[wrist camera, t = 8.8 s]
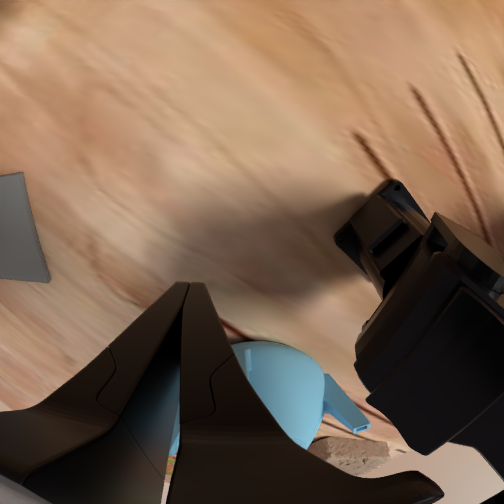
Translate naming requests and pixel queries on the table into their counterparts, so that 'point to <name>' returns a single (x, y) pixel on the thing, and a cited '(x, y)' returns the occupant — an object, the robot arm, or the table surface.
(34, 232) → the rubber mat
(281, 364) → the teapot
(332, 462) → the brick
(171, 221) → the table surface
